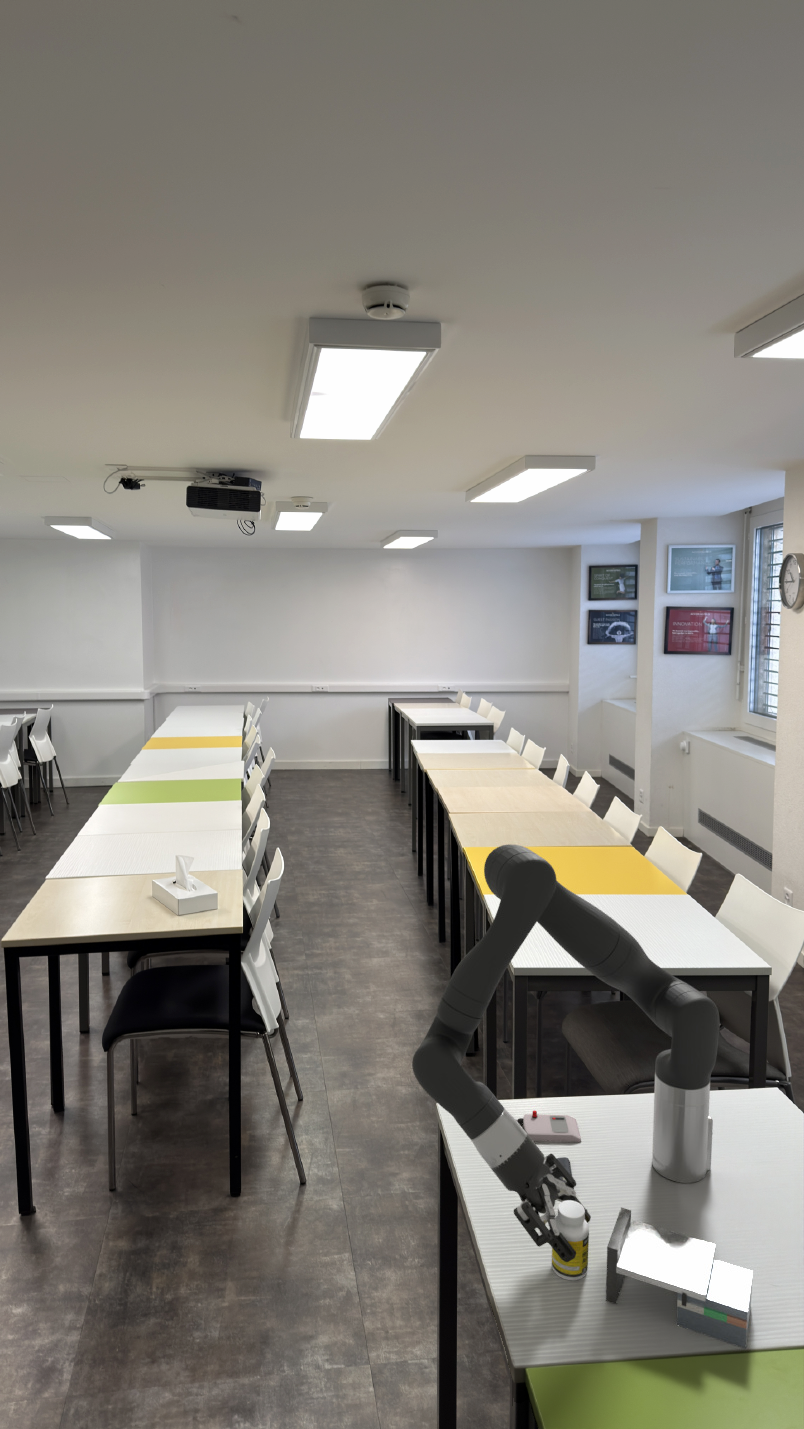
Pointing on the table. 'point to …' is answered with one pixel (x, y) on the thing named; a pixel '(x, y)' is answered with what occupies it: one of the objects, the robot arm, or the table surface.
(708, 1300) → the gauge housing
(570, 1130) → the electrical tester
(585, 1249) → the supplement bottle
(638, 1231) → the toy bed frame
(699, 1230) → the table surface
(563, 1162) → the usb stick
